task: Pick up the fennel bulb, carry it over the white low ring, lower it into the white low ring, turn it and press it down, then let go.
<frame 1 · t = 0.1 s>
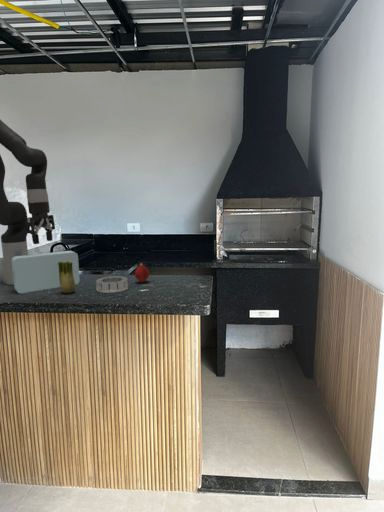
hand: (43, 242, 136), 17 cm above the countertop, tool pointing down, fingers open, 8 cm apart
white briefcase: (48, 287, 134), on the countertop
fennel bulb: (68, 293, 127), on the countertop
white low ring: (112, 288, 131), on the countertop
onion: (142, 282, 140), on the countertop
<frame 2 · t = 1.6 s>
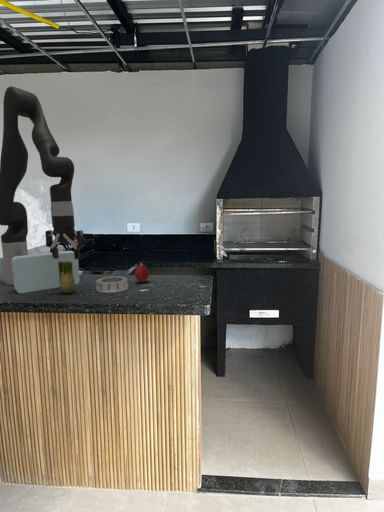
hand: (66, 258, 125), 13 cm above the countertop, tool pointing down, fingers open, 8 cm apart
nothing on the countertop moved.
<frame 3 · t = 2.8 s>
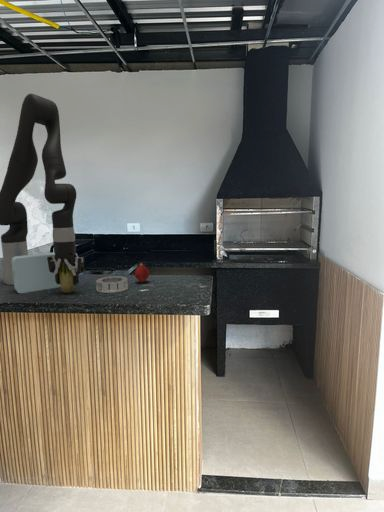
hand: (67, 284, 126), 3 cm above the countertop, tool pointing down, fingers closed on fennel bulb, 6 cm apart
fennel bulb: (68, 293, 127), on the countertop, touching gripper
everything else where it was.
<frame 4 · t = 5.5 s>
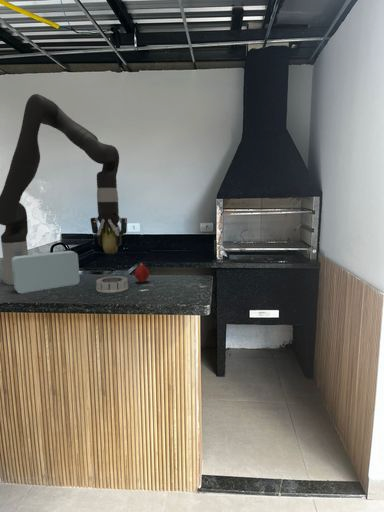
hand: (110, 245, 128), 17 cm above the countertop, tool pointing down, fingers closed on fennel bulb, 6 cm apart
fennel bulb: (110, 254, 129), point 14 cm above the countertop, touching gripper
everything else where it was.
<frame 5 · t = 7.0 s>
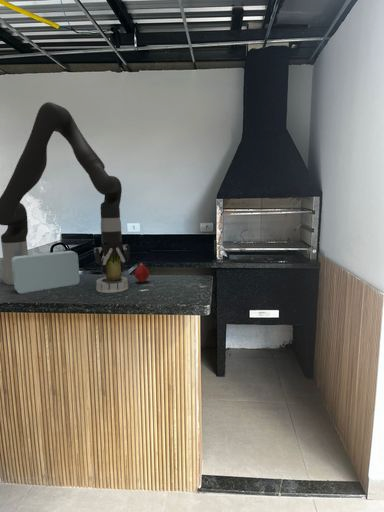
hand: (113, 272, 131), 6 cm above the countertop, tool pointing down, fingers closed on fennel bulb, 6 cm apart
fennel bulb: (114, 281, 132), point 3 cm above the countertop, touching gripper
everything else where it was.
when the fingers open (5 cm above the countertop, at t = 8.3 s): fennel bulb stays where it is, resting on white low ring.
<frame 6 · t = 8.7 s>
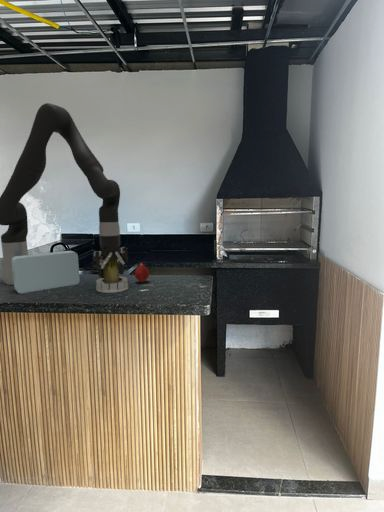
hand: (111, 275, 130), 5 cm above the countertop, tool pointing down, fingers open, 8 cm apart
fennel bulb: (112, 286, 131), point 1 cm above the countertop, touching white low ring
everything else where it was.
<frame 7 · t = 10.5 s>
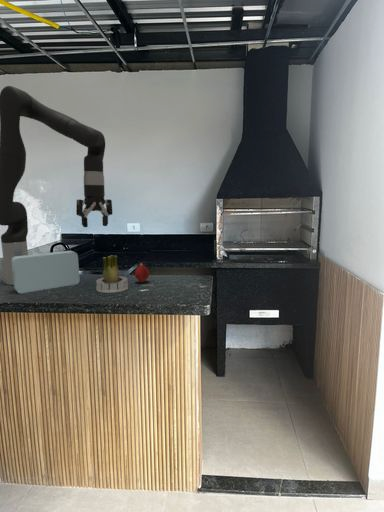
hand: (95, 226, 132), 24 cm above the countertop, tool pointing down, fingers open, 8 cm apart
nothing on the countertop moved.
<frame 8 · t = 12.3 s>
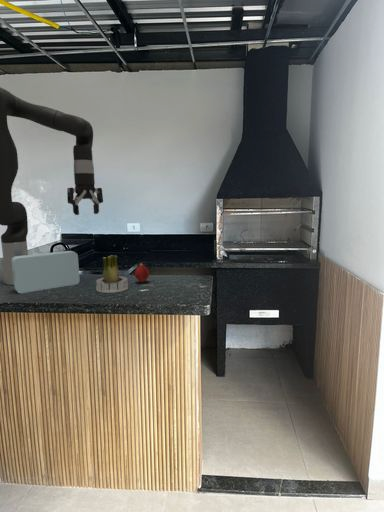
hand: (86, 214, 136), 28 cm above the countertop, tool pointing down, fingers open, 8 cm apart
nothing on the countertop moved.
at the end: fennel bulb 0.3 cm from the white low ring (horizontally); fennel bulb point 0.8 cm above the countertop; the gripper is holding nothing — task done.
